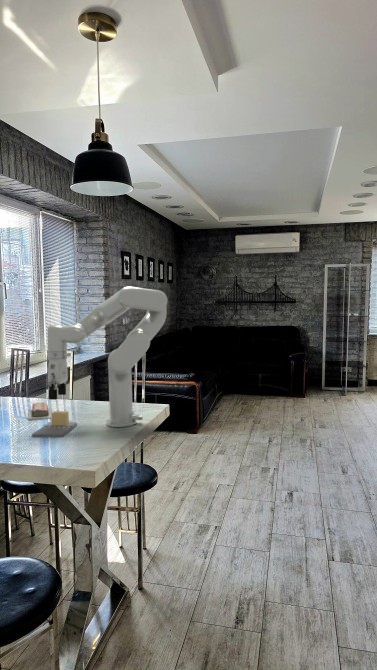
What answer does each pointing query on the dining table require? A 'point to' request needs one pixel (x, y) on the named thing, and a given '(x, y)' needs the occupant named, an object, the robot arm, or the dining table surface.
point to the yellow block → (60, 420)
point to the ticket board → (52, 432)
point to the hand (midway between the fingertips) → (57, 397)
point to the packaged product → (39, 412)
